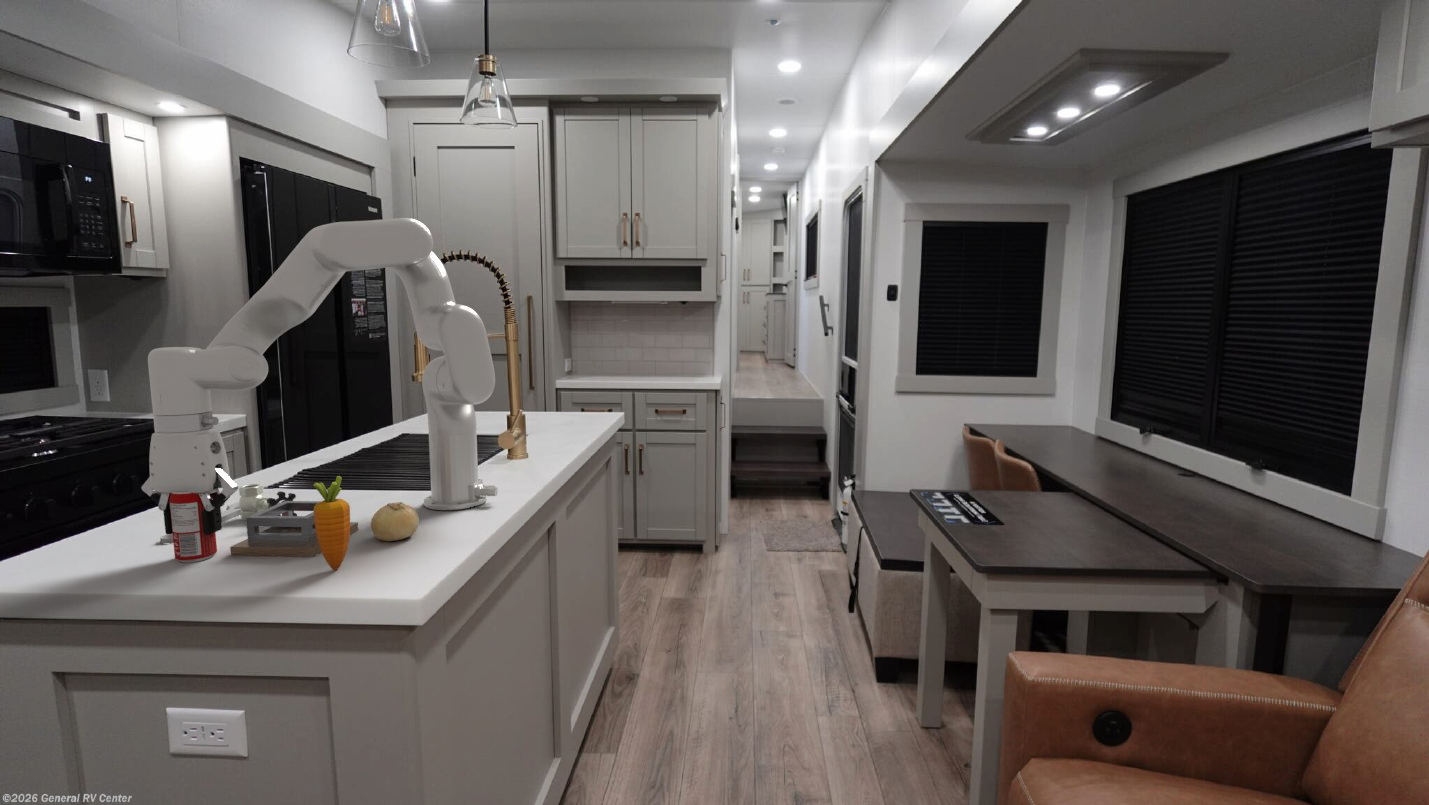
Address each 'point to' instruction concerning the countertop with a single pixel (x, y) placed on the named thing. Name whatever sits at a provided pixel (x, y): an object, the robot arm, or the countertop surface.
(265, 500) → the valve
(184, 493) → the soda can
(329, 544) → the carrot
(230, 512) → the adjustable wrench
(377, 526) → the onion
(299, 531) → the collar stand
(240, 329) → the robot arm
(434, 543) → the countertop surface
